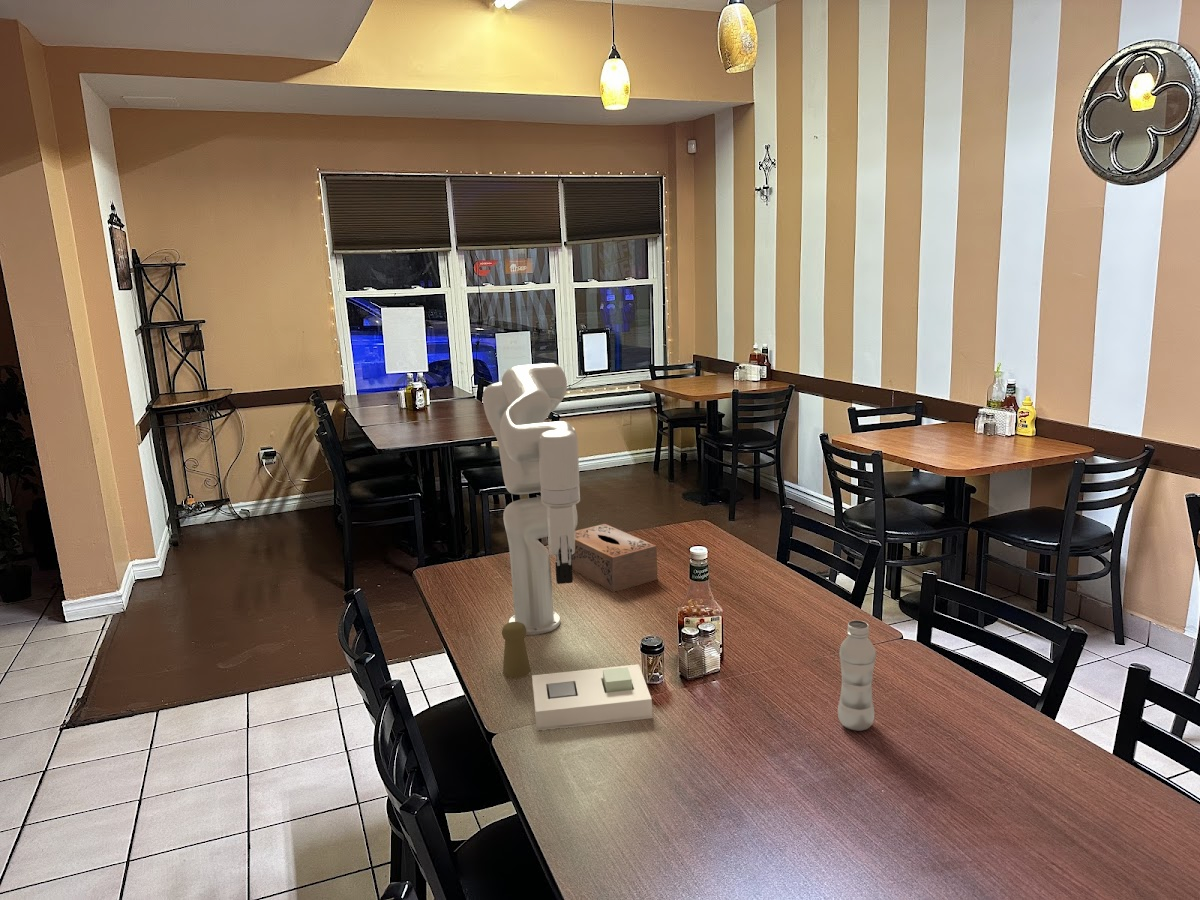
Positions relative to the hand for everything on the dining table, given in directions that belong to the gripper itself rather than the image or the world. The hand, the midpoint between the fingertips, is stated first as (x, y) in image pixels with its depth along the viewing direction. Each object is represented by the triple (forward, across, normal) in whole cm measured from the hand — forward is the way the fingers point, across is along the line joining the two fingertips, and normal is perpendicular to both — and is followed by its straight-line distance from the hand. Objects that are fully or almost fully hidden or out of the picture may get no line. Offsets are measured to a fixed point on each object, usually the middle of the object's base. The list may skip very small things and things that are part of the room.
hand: (564, 581), depth 159 cm
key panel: (+23, +8, +4) cm, 25 cm away
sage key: (+20, +8, +9) cm, 23 cm away
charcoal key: (+22, +8, -2) cm, 24 cm away
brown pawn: (+24, -9, -11) cm, 28 cm away
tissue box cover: (+26, -62, +16) cm, 69 cm away
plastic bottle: (+22, +24, +51) cm, 61 cm away
